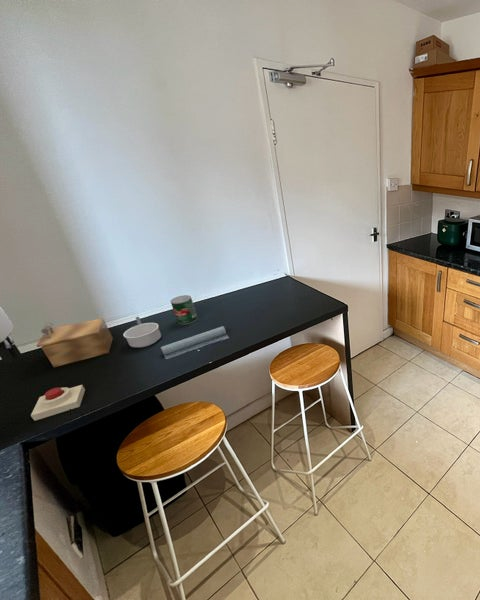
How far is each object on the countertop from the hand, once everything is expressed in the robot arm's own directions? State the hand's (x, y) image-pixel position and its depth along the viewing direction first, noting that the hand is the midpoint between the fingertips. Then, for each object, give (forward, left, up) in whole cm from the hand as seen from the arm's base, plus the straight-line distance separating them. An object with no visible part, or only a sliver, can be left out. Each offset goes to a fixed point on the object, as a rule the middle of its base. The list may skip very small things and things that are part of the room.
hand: (13, 358), depth 88 cm
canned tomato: (+39, +38, -19) cm, 58 cm away
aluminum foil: (+41, +13, -19) cm, 47 cm away
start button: (+3, 0, -16) cm, 16 cm away
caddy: (+4, +33, -19) cm, 38 cm away
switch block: (+3, 0, -19) cm, 19 cm away
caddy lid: (+4, +32, -10) cm, 34 cm away
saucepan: (+23, +32, -19) cm, 44 cm away
